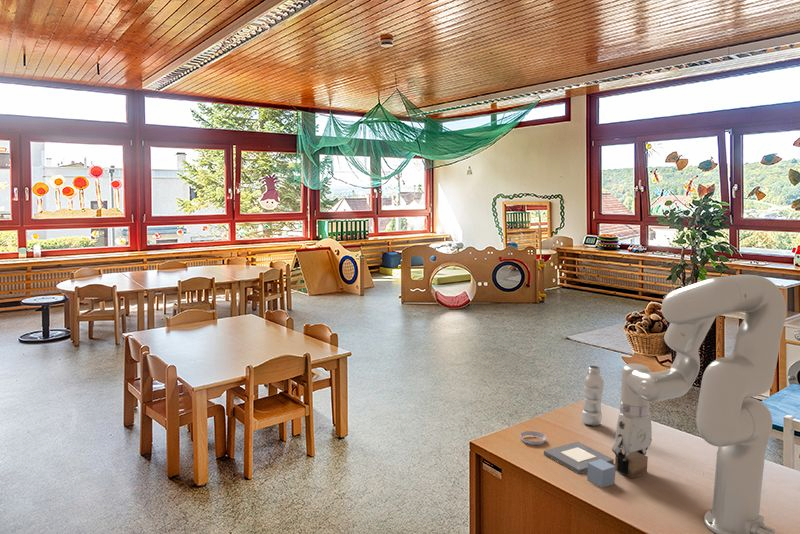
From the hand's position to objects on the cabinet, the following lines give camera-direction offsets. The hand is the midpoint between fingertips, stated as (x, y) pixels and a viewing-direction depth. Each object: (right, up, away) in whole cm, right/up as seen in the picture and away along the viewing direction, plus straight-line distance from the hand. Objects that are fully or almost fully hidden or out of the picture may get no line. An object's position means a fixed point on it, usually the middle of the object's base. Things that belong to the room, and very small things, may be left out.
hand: (630, 469), depth 166 cm
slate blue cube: (-10, -1, -6) cm, 12 cm away
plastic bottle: (0, +3, +34) cm, 34 cm away
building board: (-12, 0, +8) cm, 15 cm away
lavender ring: (-23, +2, +20) cm, 31 cm away
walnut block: (0, -1, 0) cm, 1 cm away
